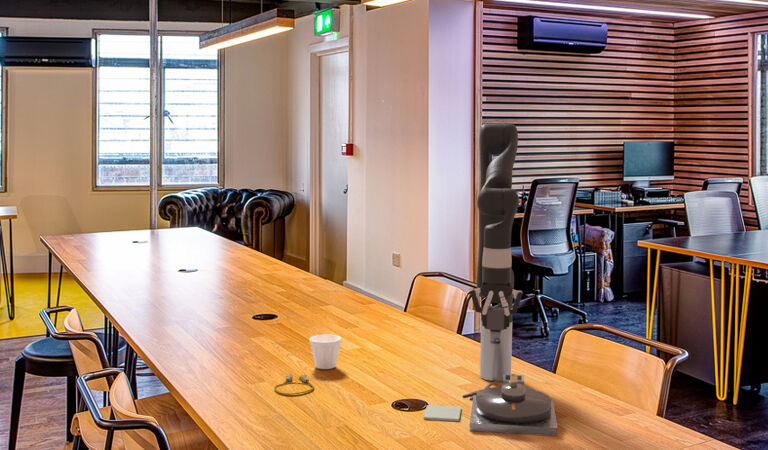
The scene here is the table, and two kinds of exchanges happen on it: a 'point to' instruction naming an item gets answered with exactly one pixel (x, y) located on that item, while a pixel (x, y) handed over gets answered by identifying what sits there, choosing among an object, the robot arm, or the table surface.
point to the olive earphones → (289, 378)
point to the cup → (325, 350)
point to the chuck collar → (513, 402)
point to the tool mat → (442, 413)
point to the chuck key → (495, 323)
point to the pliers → (479, 390)
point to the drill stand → (513, 424)
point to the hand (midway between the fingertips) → (495, 328)
